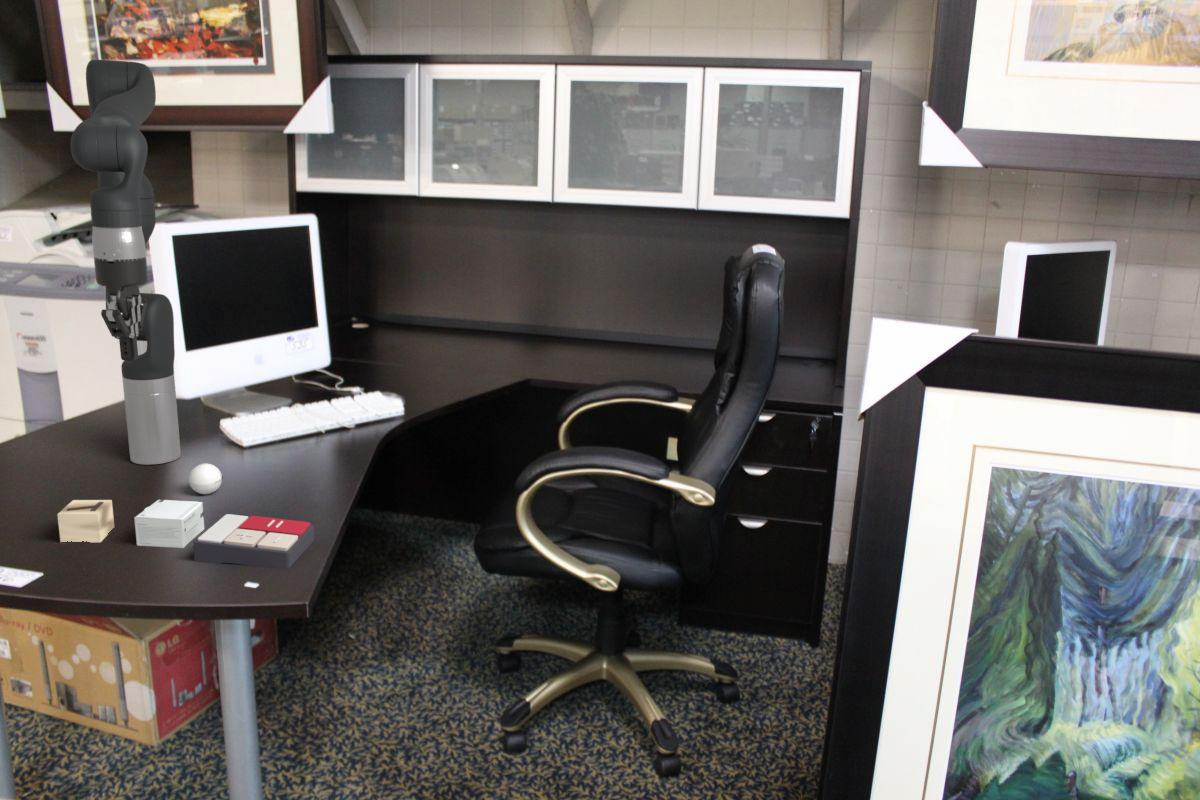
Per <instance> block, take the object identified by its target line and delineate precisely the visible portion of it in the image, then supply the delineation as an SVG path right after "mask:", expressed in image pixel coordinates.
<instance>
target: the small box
mask: <svg viewBox="0 0 1200 800" xmlns="http://www.w3.org/2000/svg"><path fill="white" fill-rule="evenodd" d="M203 506H204V505H203V501H195V500H194V501H192V500H191V501H190V500H189V501H188V500H174V499H173V500H172V499H171V500H170V499H157V500H155V502H153V503H152V504H151V505H150V506H147V507H145V508H144V509H143V511H141V512H140V513H138V514H137V515H136V516H134V517H133V518H134V520H133V521H134V531H135V539H136V546H139V547H140V546H141V547H155V548H156V547H159V548H174V549H175V548H176V549H184V548H185V547H186V546H187V545H188V544H189V543H190V542H191V541H192V540H193V539H196V538H197V536H198V535H199V534H201V533H202V532H203V531H204V530H205V521H204V520H205V518H204V507H203Z"/></svg>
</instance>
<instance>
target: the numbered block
mask: <svg viewBox="0 0 1200 800" xmlns="http://www.w3.org/2000/svg"><path fill="white" fill-rule="evenodd" d="M114 520H115V518H114V509H113V500H112V499H73V500H71V501H70V502H69V503H68V504H67V505H66V506H64V508H62V509H61V511H59V512H58V513H57V524H58V532H59V541H60V543H61V542H67V541H68V542H71V541H72V542H82V541H84V542H86V541H87V542H90V543H102V542H103V541H104V539H105V538H107V536H108V535H109V534H110V533H111V532H112V531H113V530H114V529H115V521H114ZM113 528H114V529H113ZM112 529H113V530H112ZM111 530H112V531H111ZM110 531H111V532H110ZM109 532H110V533H109ZM108 533H109V534H108Z"/></svg>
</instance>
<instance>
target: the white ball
mask: <svg viewBox="0 0 1200 800" xmlns="http://www.w3.org/2000/svg"><path fill="white" fill-rule="evenodd" d="M222 479H223V475H222V472H221V471H220V469H219V468H218V467H217V466H215V465H214V464H212V463H206V462H204V463H200V464H198V465H195V466H194V468H193V469H191V471H190V473H189V477H188V483H189V487H190V488H191V489H192V490H193V491H194V492H196V493H197V494H200V495H210V494H212V493H214V492H216V491H217V490H218V489H219V488H220V487H221V484H222V481H223V480H222Z"/></svg>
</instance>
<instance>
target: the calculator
mask: <svg viewBox="0 0 1200 800" xmlns="http://www.w3.org/2000/svg"><path fill="white" fill-rule="evenodd" d="M314 541H315V525H314V524H311V522H308V521H300V520H294V519H293V520H292V519H283V518H275V517H266V516H258V515H250V516H248V515H239V514H232V513H231V514H230V513H226V514H224V515H223V516H222V517H221V518H220V519H218V520H217V521H216V522H215V523H213V524H212V525H211V526H210V527H209V528H207V530H205V531H204V532H203V533H202V534H200V535H199V536H198V537H196V538H195V540H194V541H193V562H195V563H207V564H224V563H226V564H234V565H242V566H244V565H245V566H251V567H263V568H277V569H279V568H280V569H289V568H291V566H292V565H294V564H295V563H296V561H297V560H298V559H299V558H300V556H301V555H303V553H305V551H306V550H307V549H308V548H309V547H310V546H311V545H312V543H313V542H314Z"/></svg>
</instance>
